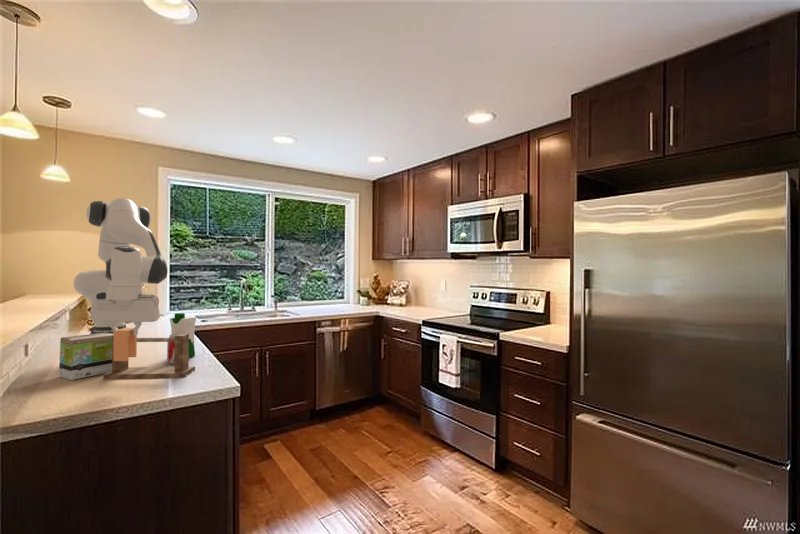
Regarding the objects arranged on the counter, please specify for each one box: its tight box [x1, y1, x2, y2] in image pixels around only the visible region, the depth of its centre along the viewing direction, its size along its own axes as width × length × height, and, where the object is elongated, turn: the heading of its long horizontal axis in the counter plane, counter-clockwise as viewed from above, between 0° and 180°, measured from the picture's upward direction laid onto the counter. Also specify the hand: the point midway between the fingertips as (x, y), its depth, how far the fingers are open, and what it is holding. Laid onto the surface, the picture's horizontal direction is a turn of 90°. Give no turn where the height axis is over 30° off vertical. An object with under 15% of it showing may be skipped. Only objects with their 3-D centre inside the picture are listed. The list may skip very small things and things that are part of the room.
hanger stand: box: [102, 334, 196, 380], centre depth 148 cm, size 28×10×15 cm, turn 97°
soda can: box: [166, 334, 179, 365], centre depth 166 cm, size 7×7×12 cm
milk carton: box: [169, 312, 197, 358], centre depth 176 cm, size 9×9×20 cm
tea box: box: [58, 333, 114, 381], centre depth 148 cm, size 15×10×15 cm, turn 153°
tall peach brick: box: [113, 327, 138, 361], centre depth 132 cm, size 4×6×10 cm, turn 7°
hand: (125, 334), depth 132 cm, fingers closed on tall peach brick, 4 cm apart
